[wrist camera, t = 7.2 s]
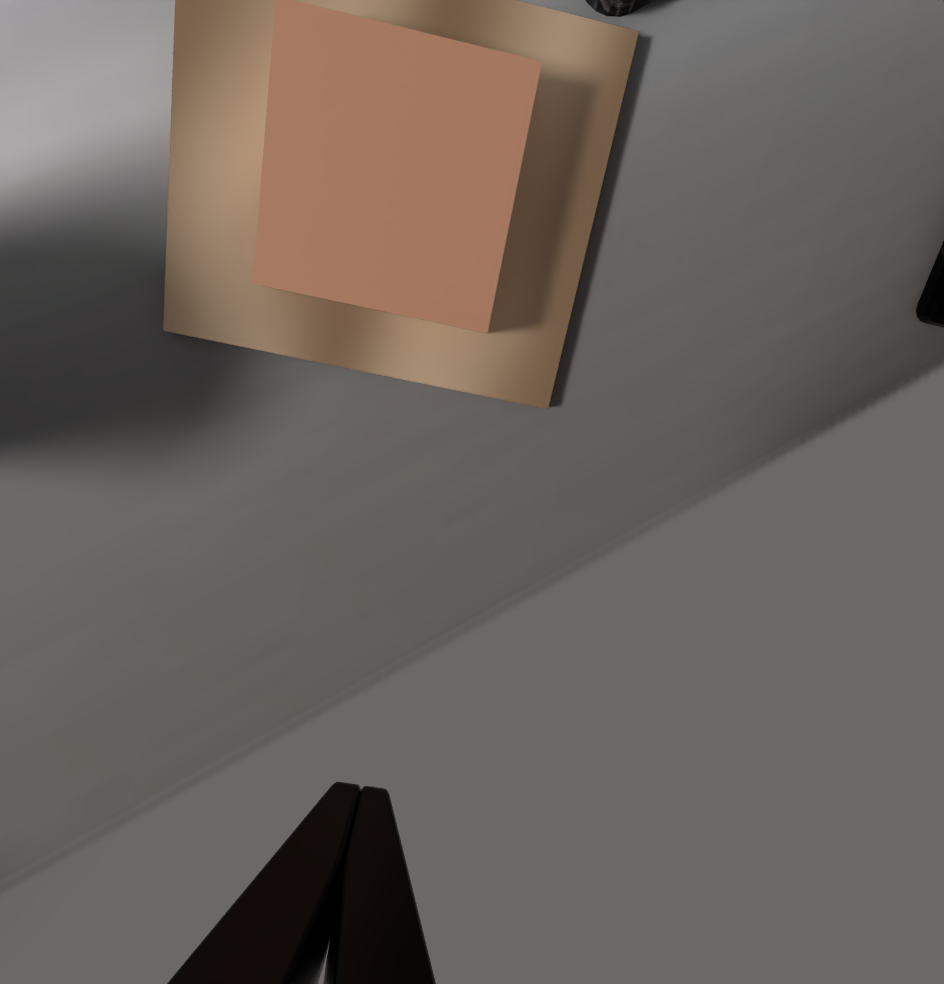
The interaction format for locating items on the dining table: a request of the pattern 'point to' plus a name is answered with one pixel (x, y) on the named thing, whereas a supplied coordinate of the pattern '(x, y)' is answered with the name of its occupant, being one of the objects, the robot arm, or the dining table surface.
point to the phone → (616, 6)
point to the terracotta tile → (389, 165)
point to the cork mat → (360, 331)
